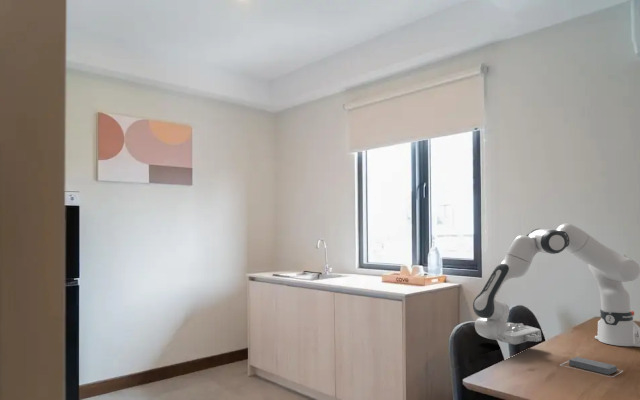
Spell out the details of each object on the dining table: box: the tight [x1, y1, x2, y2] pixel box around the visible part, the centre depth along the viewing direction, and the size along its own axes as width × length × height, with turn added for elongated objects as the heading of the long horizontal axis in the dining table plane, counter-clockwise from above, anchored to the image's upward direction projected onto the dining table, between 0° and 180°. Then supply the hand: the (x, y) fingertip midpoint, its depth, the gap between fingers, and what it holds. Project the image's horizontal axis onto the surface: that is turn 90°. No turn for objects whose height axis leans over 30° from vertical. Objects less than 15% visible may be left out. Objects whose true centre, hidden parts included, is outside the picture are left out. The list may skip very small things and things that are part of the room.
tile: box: [568, 356, 618, 376], centre depth 165 cm, size 6×2×14 cm
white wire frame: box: [559, 360, 624, 378], centre depth 165 cm, size 11×1×18 cm
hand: (539, 339), depth 181 cm, fingers closed
